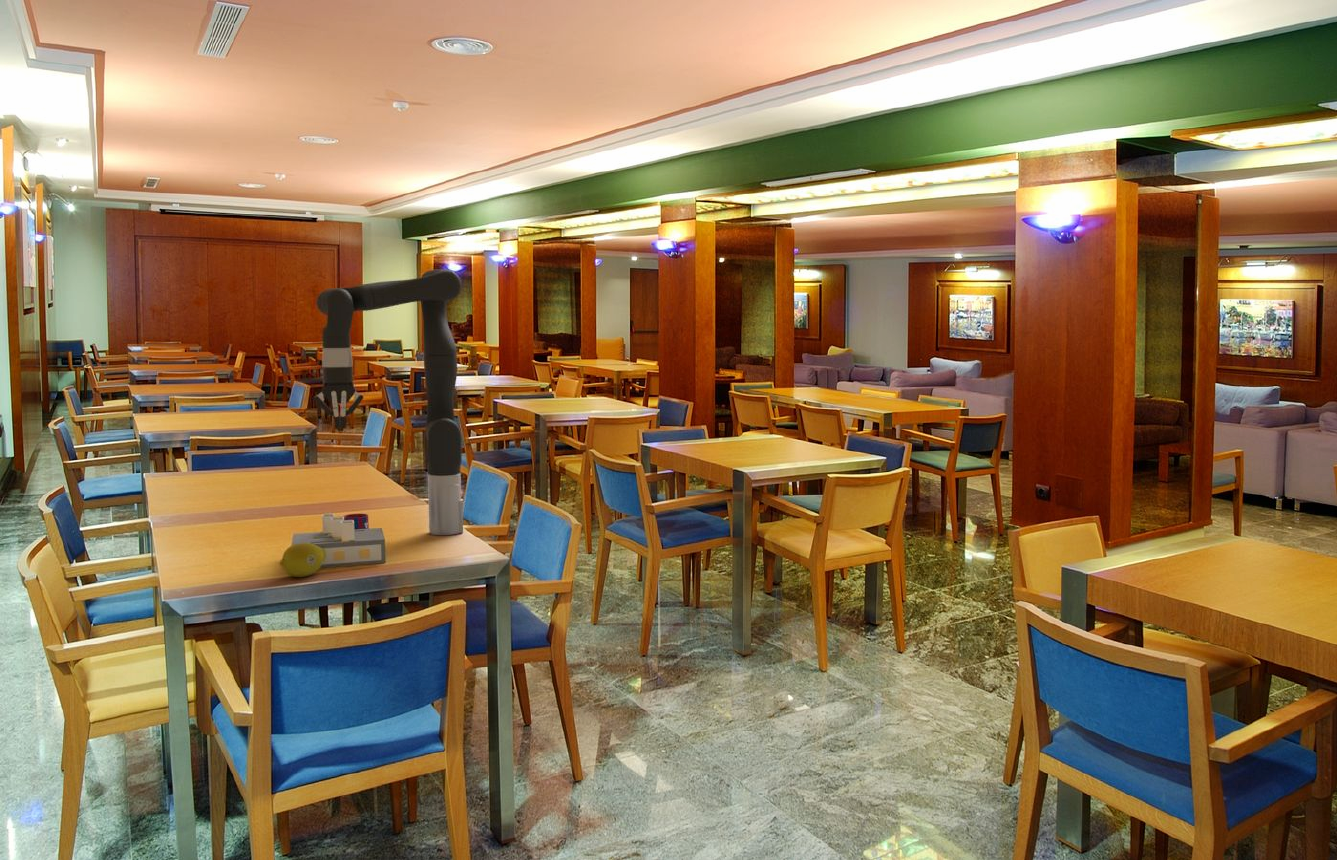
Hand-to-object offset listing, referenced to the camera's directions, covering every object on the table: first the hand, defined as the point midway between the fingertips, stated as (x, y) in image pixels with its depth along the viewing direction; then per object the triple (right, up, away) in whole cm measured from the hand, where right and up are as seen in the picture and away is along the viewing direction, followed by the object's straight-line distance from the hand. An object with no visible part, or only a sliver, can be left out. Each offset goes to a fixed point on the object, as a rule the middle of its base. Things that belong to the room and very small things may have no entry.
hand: (340, 430), depth 258 cm
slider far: (-1, -27, -5) cm, 27 cm away
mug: (-2, -31, +15) cm, 34 cm away
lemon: (0, -35, -25) cm, 43 cm away
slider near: (+7, -28, -14) cm, 31 cm away
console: (+3, -33, -9) cm, 34 cm away
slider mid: (+3, -27, -9) cm, 29 cm away
